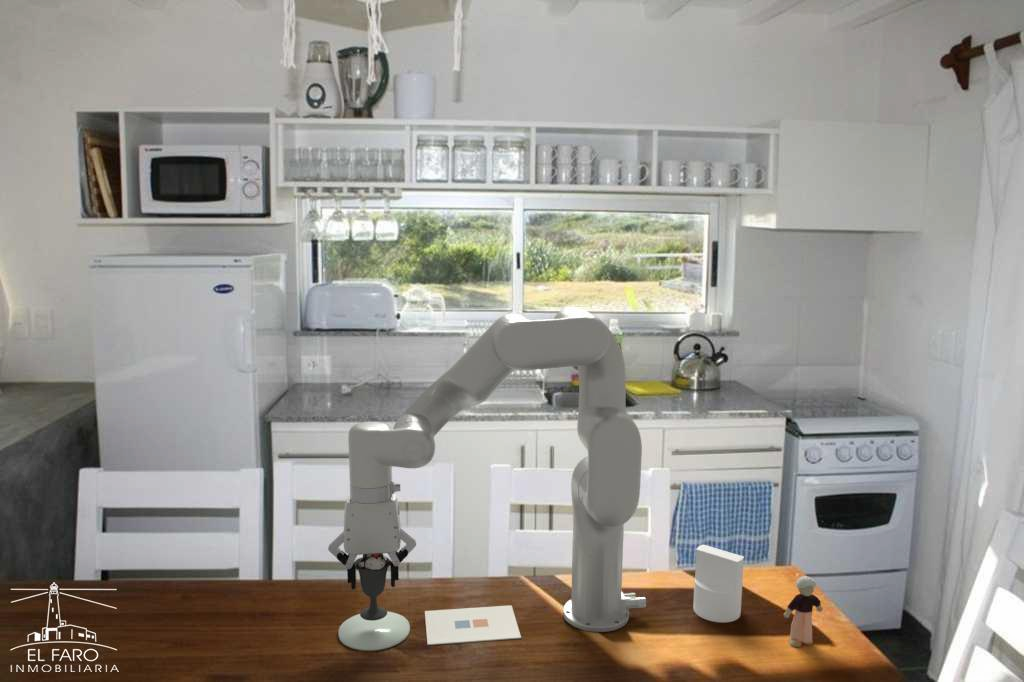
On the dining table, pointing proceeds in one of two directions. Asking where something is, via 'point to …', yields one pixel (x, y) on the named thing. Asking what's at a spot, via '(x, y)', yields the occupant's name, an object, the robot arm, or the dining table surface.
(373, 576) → the sundae
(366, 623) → the plate
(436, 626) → the tile
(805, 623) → the grandmother figurine
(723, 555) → the cylinder with rectangular tab
